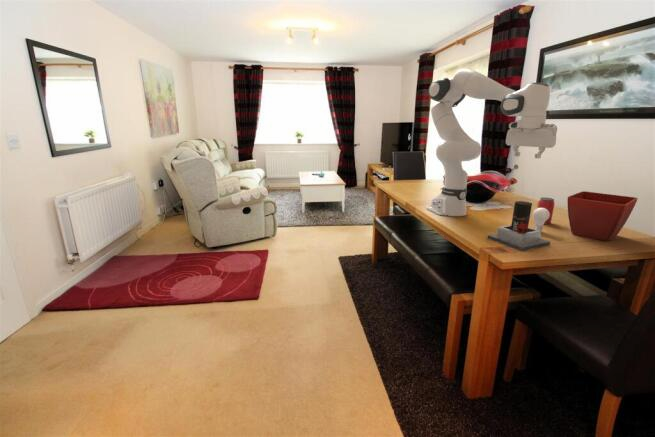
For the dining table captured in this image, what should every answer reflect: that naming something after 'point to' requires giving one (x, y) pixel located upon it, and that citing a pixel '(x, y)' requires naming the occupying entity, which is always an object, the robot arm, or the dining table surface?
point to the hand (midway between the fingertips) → (526, 157)
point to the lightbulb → (540, 217)
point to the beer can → (547, 206)
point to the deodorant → (521, 216)
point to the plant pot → (598, 214)
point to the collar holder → (519, 238)
